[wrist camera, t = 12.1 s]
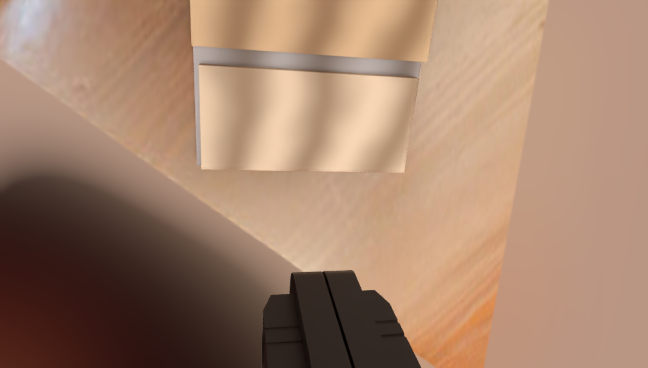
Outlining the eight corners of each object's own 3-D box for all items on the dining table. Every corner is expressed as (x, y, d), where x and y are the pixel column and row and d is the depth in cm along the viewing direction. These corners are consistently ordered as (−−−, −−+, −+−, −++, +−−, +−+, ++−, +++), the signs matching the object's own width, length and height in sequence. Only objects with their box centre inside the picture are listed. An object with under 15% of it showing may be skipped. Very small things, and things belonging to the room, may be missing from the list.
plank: (202, 164, 37) (201, 169, 36) (200, 63, 34) (198, 65, 33) (399, 168, 40) (403, 172, 39) (413, 76, 37) (418, 78, 36)
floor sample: (198, 160, 38) (195, 170, 36) (191, -71, 31) (187, -76, 29) (398, 164, 42) (407, 173, 40) (432, -41, 35) (445, -44, 33)
